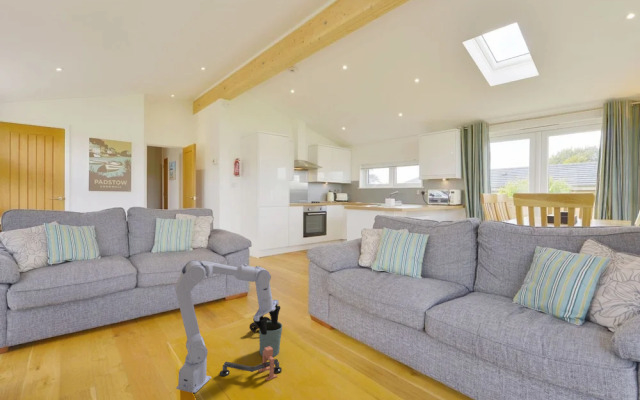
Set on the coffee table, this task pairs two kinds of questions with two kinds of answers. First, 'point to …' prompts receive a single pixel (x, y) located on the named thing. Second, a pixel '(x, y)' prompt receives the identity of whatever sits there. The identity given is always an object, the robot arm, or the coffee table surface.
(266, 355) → the pink blocky toy figure
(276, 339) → the green tapered cup
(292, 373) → the coffee table surface
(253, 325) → the vr controller
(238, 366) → the wheeled bent frame
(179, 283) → the robot arm
